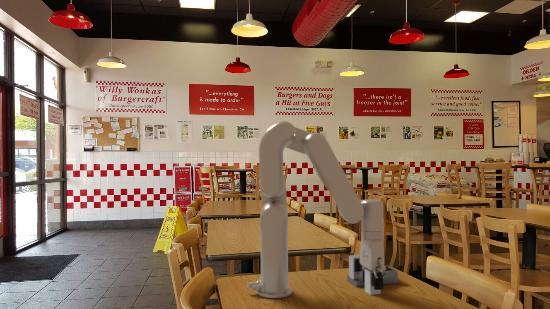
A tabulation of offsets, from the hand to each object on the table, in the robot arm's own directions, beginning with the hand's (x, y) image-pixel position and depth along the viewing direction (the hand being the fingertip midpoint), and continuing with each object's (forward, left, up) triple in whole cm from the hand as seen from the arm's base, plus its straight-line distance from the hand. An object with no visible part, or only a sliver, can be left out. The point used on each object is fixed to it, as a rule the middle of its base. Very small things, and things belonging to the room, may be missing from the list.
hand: (372, 285), depth 141 cm
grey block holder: (+5, +11, -2) cm, 13 cm away
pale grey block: (0, 0, -2) cm, 2 cm away
